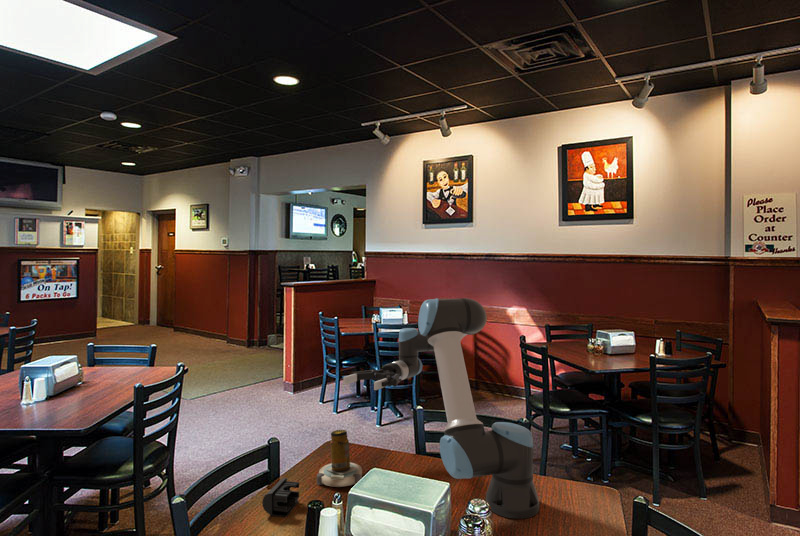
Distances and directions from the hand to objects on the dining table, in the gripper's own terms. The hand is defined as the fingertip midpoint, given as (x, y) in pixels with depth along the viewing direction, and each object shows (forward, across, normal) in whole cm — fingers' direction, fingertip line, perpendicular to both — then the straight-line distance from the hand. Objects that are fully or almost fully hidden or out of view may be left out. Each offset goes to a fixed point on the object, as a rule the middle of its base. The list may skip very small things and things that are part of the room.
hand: (359, 383), depth 162 cm
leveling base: (+10, 0, -30) cm, 31 cm away
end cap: (+33, +2, -30) cm, 45 cm away
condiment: (+10, -1, -26) cm, 28 cm away
